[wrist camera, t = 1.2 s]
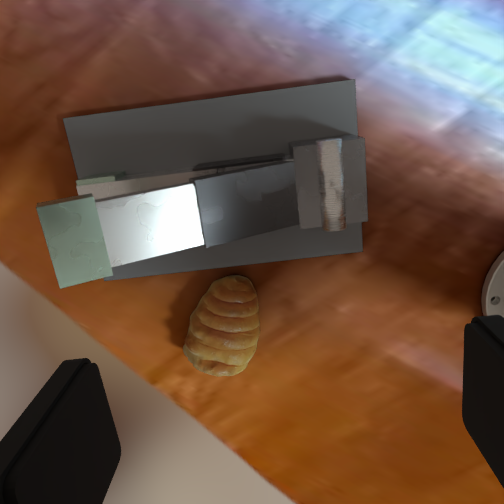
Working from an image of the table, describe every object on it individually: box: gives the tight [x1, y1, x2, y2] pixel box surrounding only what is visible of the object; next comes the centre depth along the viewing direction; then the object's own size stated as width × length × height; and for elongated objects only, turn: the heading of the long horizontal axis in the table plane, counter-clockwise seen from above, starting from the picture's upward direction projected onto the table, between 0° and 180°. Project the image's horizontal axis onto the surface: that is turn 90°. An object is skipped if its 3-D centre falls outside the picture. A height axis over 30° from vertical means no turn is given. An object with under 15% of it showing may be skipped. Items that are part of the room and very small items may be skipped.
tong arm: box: [36, 160, 299, 289], centre depth 27 cm, size 16×5×2 cm, turn 96°
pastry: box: [183, 275, 260, 376], centre depth 39 cm, size 9×7×4 cm
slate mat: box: [63, 79, 363, 281], centre depth 36 cm, size 23×14×1 cm, turn 97°
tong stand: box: [76, 134, 368, 232], centre depth 33 cm, size 22×6×5 cm, turn 97°
